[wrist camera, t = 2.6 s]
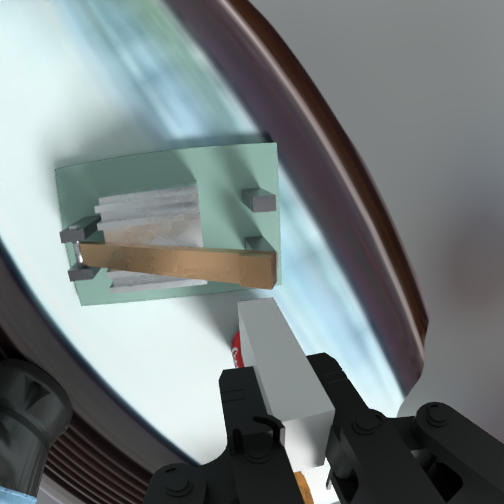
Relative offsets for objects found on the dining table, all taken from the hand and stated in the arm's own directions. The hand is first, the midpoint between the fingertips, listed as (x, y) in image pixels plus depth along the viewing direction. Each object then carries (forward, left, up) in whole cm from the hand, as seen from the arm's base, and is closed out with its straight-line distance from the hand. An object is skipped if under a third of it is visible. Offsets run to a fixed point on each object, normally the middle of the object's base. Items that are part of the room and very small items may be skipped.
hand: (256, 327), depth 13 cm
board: (-5, 0, -22) cm, 23 cm away
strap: (-5, 0, -11) cm, 12 cm away
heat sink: (-6, 0, -21) cm, 22 cm away
